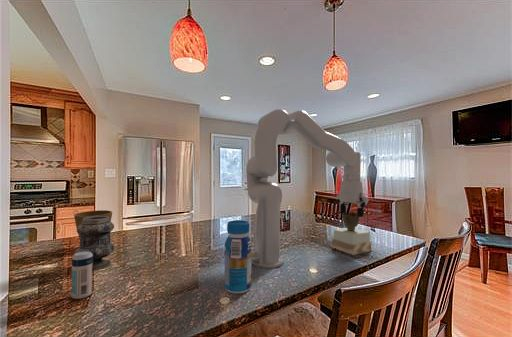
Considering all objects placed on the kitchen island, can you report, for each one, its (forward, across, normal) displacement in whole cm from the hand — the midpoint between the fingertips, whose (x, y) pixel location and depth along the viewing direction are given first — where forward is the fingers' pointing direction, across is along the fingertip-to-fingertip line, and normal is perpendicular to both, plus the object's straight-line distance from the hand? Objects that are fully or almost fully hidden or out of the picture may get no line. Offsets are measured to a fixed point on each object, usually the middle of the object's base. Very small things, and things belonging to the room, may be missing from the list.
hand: (351, 215), depth 113 cm
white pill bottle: (+17, -6, -103) cm, 104 cm away
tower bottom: (+16, 0, +1) cm, 16 cm away
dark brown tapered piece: (+7, -1, +1) cm, 8 cm away
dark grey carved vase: (+17, -31, -102) cm, 108 cm away
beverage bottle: (+17, +10, -62) cm, 65 cm away
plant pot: (+17, -58, -105) cm, 121 cm away
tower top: (+12, 0, +1) cm, 12 cm away
